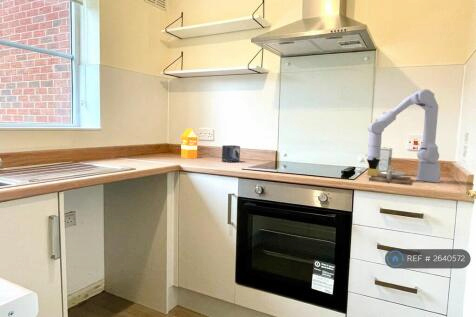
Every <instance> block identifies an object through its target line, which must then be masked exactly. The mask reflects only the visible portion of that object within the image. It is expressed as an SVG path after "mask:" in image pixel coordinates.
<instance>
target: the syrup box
mask: <svg viewBox="0 0 476 317" xmlns="http://www.w3.org/2000/svg"><path fill="white" fill-rule="evenodd" d="M380 147H381V151H380V156H381V157H379V158H377V159H380V162H379V163H378V165H377V168H376V169H378V170H387V169H391V166H392V165H391V164H392V156H393V147H385V146H384V147H383V146H380ZM377 174H379V173H377Z"/></svg>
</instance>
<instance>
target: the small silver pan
mask: <svg viewBox="0 0 476 317" xmlns="http://www.w3.org/2000/svg"><path fill="white" fill-rule="evenodd" d="M388 171H392V176H402V177H405V175H406V172H404V171H397V170H396V169H391V168H390V169H387V170H378V169H377V168H376V169H373V168H369V167H368V168H367V173H366V175H367V176H369V177H371V176H377V173H379V174H381V175H387V172H388Z"/></svg>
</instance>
